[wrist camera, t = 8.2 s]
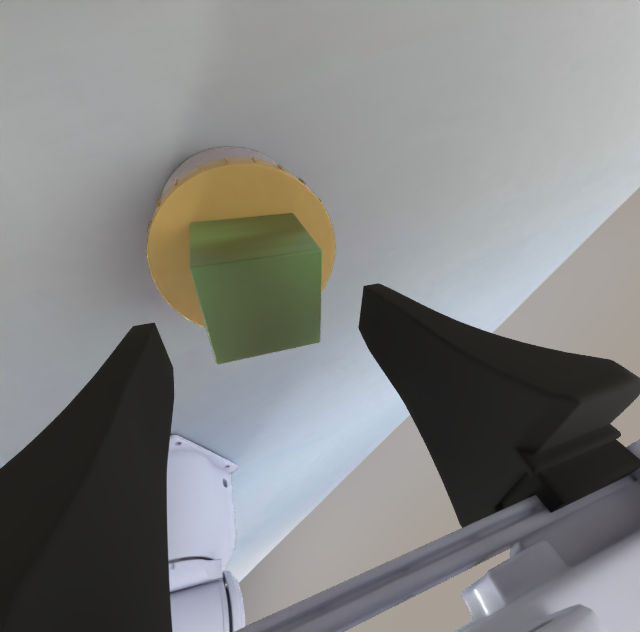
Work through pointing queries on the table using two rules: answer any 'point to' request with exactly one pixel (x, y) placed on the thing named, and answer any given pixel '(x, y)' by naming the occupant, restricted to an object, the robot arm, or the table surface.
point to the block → (256, 284)
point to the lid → (226, 203)
